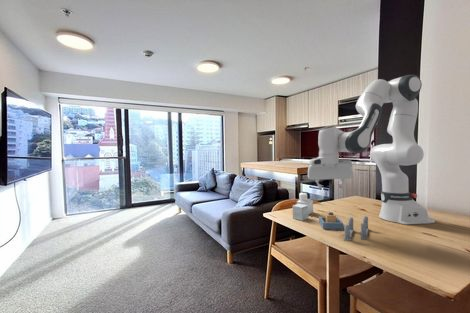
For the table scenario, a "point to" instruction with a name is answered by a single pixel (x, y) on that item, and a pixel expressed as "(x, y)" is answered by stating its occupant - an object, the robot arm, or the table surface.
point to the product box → (300, 212)
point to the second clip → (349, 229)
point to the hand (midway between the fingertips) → (330, 188)
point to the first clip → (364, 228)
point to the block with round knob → (330, 217)
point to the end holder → (331, 224)
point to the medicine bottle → (306, 201)
